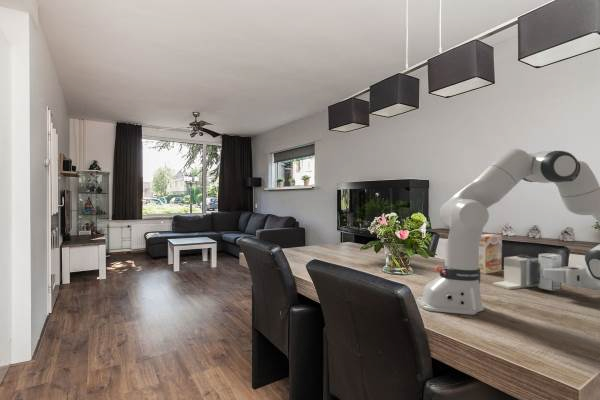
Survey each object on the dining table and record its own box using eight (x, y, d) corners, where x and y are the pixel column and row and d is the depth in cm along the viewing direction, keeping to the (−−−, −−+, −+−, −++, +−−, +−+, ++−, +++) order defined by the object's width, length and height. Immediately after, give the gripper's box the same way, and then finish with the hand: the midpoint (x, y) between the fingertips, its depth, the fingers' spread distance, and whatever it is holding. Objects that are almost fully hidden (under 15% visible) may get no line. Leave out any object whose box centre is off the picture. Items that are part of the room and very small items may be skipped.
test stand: (550, 284, 150) (550, 257, 150) (509, 289, 141) (509, 260, 141) (533, 279, 157) (533, 254, 157) (492, 284, 149) (492, 257, 149)
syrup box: (547, 286, 142) (547, 252, 142) (562, 289, 136) (561, 254, 136) (537, 287, 140) (537, 253, 140) (552, 291, 134) (552, 255, 134)
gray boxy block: (548, 283, 144) (548, 257, 144) (529, 285, 140) (529, 259, 140) (525, 277, 154) (525, 254, 153) (506, 279, 150) (507, 255, 149)
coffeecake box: (485, 274, 169) (485, 236, 169) (472, 271, 175) (472, 235, 175) (502, 271, 176) (502, 234, 176) (489, 268, 183) (489, 233, 183)
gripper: (602, 266, 129) (564, 259, 142) (567, 269, 122) (530, 263, 135) (602, 282, 129) (564, 274, 142) (567, 286, 122) (530, 278, 135)
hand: (547, 268), depth 139 cm, fingers closed on syrup box, 6 cm apart
